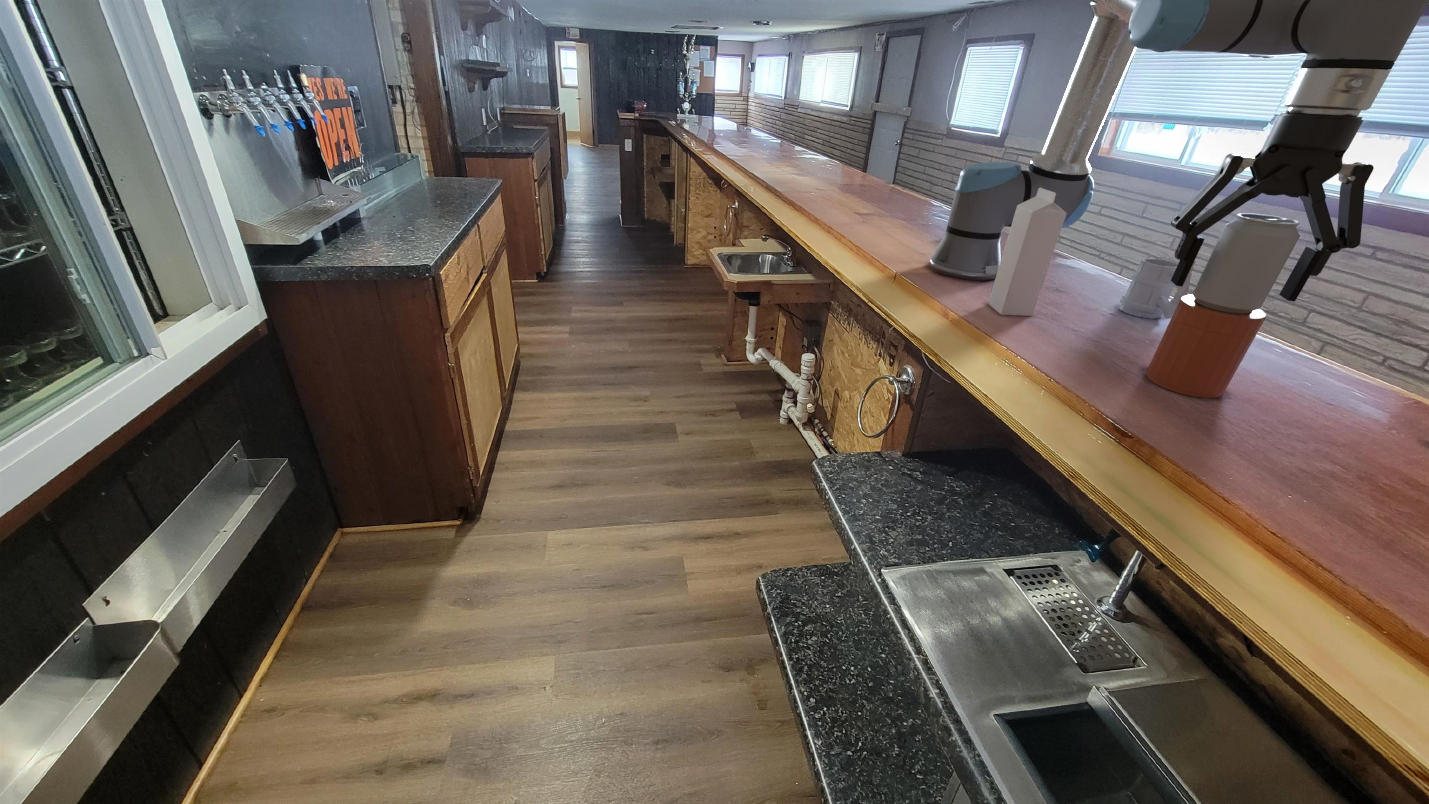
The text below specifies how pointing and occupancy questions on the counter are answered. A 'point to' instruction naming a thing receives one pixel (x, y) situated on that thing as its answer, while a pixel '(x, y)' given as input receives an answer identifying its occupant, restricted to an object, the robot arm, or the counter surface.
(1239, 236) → the can
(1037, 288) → the milk
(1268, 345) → the counter surface
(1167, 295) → the mug
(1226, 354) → the jar
